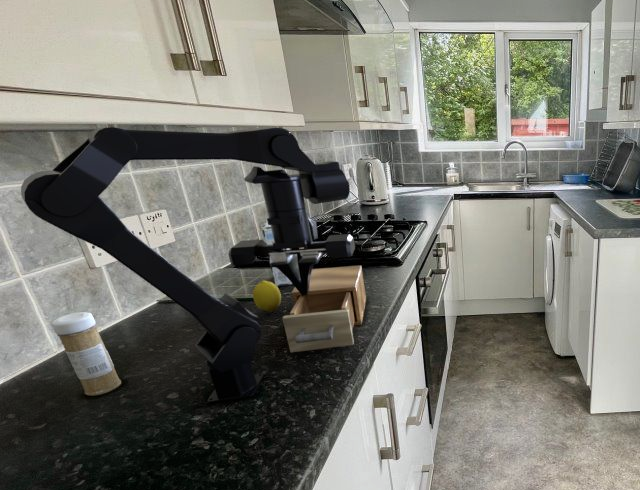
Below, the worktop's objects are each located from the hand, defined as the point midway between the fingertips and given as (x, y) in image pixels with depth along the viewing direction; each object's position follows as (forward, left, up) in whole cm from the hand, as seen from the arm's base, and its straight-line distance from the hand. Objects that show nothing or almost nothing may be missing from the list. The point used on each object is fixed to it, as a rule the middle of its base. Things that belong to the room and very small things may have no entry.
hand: (305, 294), depth 74 cm
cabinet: (+19, -1, -13) cm, 23 cm away
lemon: (+24, +14, -13) cm, 31 cm away
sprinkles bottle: (-2, +33, -13) cm, 36 cm away
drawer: (+5, -1, -12) cm, 13 cm away
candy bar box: (+47, +16, -13) cm, 51 cm away
